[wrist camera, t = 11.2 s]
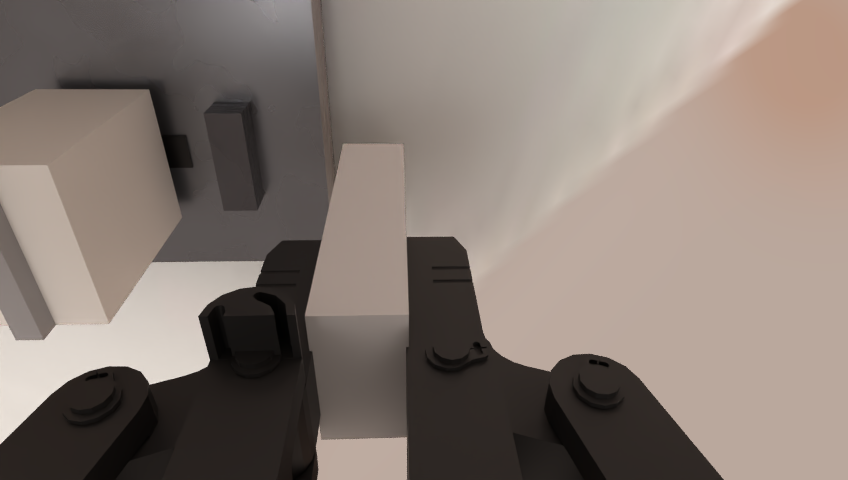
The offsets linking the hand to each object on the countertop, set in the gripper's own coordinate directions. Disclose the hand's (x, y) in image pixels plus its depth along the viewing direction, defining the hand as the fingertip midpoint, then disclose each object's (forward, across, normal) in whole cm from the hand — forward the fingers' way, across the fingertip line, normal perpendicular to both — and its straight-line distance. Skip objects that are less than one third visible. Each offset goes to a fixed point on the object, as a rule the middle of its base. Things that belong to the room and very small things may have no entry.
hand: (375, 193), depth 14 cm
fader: (+2, -8, 0) cm, 8 cm away
